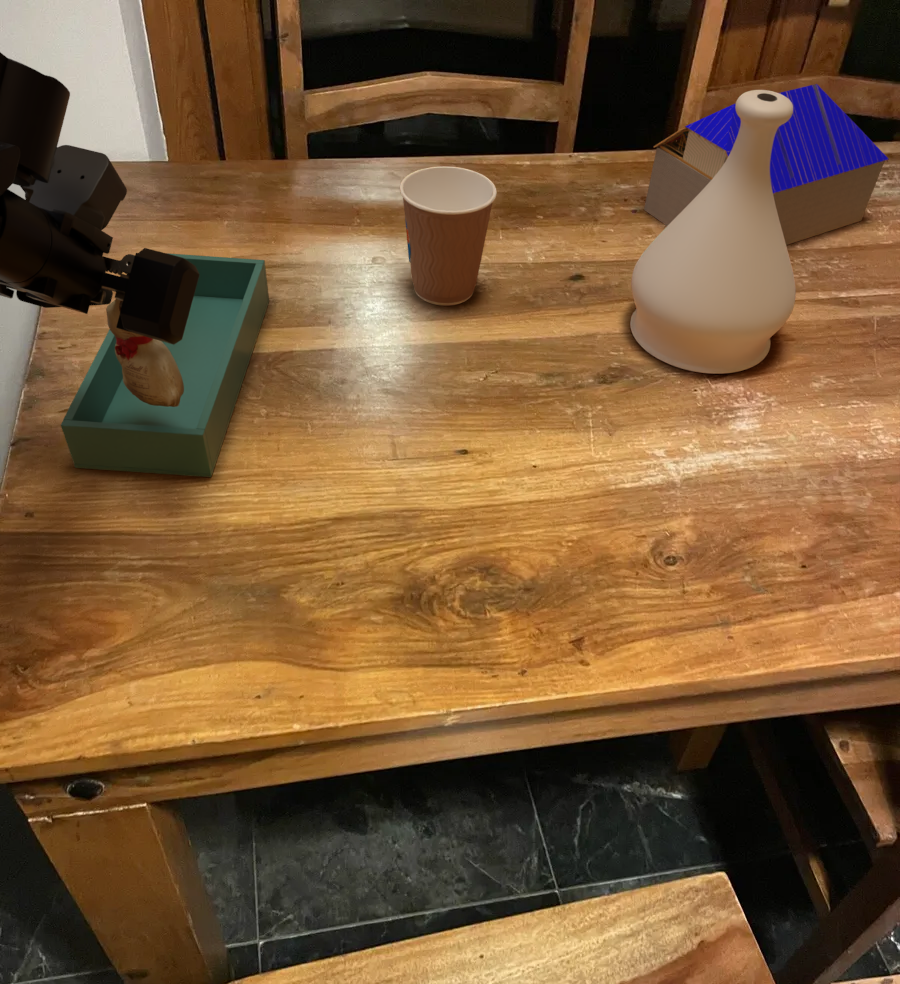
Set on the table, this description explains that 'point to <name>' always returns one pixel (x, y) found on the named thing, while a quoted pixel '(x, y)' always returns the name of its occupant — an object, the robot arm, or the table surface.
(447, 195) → the coffee cup
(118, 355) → the chocolate bunny
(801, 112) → the house
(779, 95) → the vase
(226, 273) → the bin
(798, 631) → the table surface
